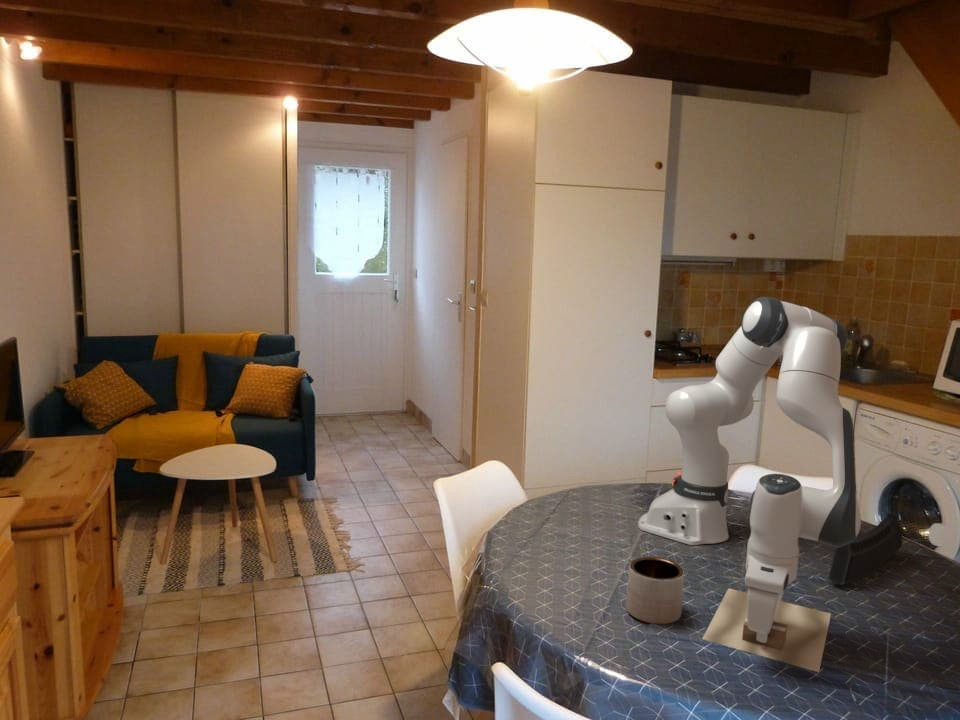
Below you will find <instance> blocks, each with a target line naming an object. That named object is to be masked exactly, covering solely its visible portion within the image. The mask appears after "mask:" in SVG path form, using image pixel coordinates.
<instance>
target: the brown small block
mask: <svg viewBox="0 0 960 720" xmlns="http://www.w3.org/2000/svg"><path fill="white" fill-rule="evenodd" d="M786 631H787V625H786V624H782V623H778V622H774V621H773V624H772V627H771V630H770V633H769V634H768V639H767V642H766V643H763V642H759V641H757V639H756V638H757V632H755V631H752V630H750V629H749V628H748V624H747V618H746V620H745V623H744V626H743V636H742V640H745V641H748V642H752V643H756V644H759V645H763V646H766V647H770V648H774V649H777V650H781V651H782V650H783V647H784V643H785V640H786Z"/></svg>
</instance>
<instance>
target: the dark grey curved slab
mask: <svg viewBox="0 0 960 720" xmlns="http://www.w3.org/2000/svg"><path fill="white" fill-rule="evenodd" d="M902 546H903V531H902V528H901V524H900V522H899V520H898V515H897V514H895V513H891V512H889V513H887V515H886V517H885V518H883V520H882V521H881V522H879V523H878V524H877V525H876V526H874V527H873V528H872V529H870V530H869V531H867V532H865V533H863V534H861V535H859V536H858V535H857V538H856V540H854V541H853V542H851V543H849V544H847V545H845V546H842V547H839V548H835V549H834V554H833V558H832V561H831V566H830V570H829V574H828V578H827V580H828V581H830V582H831V583H833V584H836V585H841V586H843V585H845V584H848V583H851V582H854V581H857V580H860V579H862V578H864V577H867V576H868V575H870V574H872V573H874V572H875V571H876V570H878V569H879V568H881V567H882V566H884V564H886V562H888V561H889V560H890V559H891V558H892V557H893V556H894V555H895V554H896V553H897V552H898V551H899V550H900V549H901V548H902Z"/></svg>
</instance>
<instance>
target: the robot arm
mask: <svg viewBox="0 0 960 720" xmlns="http://www.w3.org/2000/svg"><path fill="white" fill-rule="evenodd" d="M847 343H848V332H847V329H846V327H845V326H844V325H843V324H842V323H841V322H840V321H838V320H836V319H834V318H833V317H830V316H826V315H824V314H822V313H820V312H818V311H816V310H813V309H812V308H809V307H806V306H802V305H801V306H800V305H798V304H794V303H792V302H788V301H782V300H780V299H779V298H776V297H771V296H760V297H758V298H756V299H754V300H753V301H752V302H750V304H749V305H748V306H747V308H746V309H745V311H744V313H743V316H742V320H741V326H740V327H739V328H738V329H737V330H736V332H735V333H734V334H733V336H731V339H730V340H729V341H728V342H727V343H726V345H725V346H724V348H723V349H722V350H721V352H720V353H719V355H718V356H717V357H716V359H715V369H716V371H717V373H716V375H715V377H714V378H713V379H712V380H710V381H709V382H707V383H702V384H694V385H687V386H684V387H682V388H679V389H677V390H675V391H673V392H671V393H670V394H669V395H668V396H667V399H666V402H665V415H666V418H667V419H668V422H669V423H670V424H671V425H672V426H673V427H674V428H675V429H676V431H677V433H678V434H679V438H680V441H681V445H682V448H681V449H682V461H681V462H682V465H681V471H680V472H677V473H676V474H675V476H674V478H673V480H672V483H671V487H672V489H670V490H668V491H666V492H665V493H663V494H661V495H659V496H657V497H656V498H655V499H653V501H652V502H651V504H650V506H649V507H648V508H649V509H648V512H646V513H644V514H643V515H641V517H640V518H639V519H638V523H637V526H638V528H639V530H641V531H644V532H646V533H650V534H653V535H657V536H660V537H664V538H666V539H670V540H673V541H676V542H680V543H683V544H685V545H686V544H687V545H689V546H698V545H704V544H705V545H707V544H718V543H722V542H726V541H727V540H728V539H729V537H730V535H729V530H728V525H727V510H726V505H727V503H728V499H729V498H728V497H729V482H728V470H729V459H730V455H729V454H730V453H729V451H728V450H727V448H726V446H724V445H723V444H721V442H720V440H719V439H720V438H719V433H718V432H719V431H718V430H719V427H723V426H729V425H734V424H737V423H740V422H741V421H742V420H745V419H747V417H749V416H750V415H751V414H752V413H753V409H754V406H755V405H754V401H755V400H754V396H753V394H754V392H755V389H756V387H757V385H758V384H759V382H761V380H762V379H763V378H764V376H765V375H766V374H767V373H768V371H769V370H770V369H771V368H772V367H773V365H774V364H775V363H776V361H777V360H778V359H779V358H780V356H782V361H781V364H780V365H781V366H780V368H779V375H778V377H777V378H778V379H777V385H776V386H777V387H776V400H777V404H778V406H779V408H780V409H781V411H782V412H783V413H784V414H785V416H787V417H788V418H789V419H790V420H792V421H793V422H795V423H796V424H798V425H800V426H802V427H804V428H805V429H807V430H810V431H811V432H812V433H814V434H816V435H819V436H820V437H821V438H822V439H824V440H825V441H826V442H827V443H828V444H829V445H830V448H831V454H832V455H831V456H832V460H831V462H832V487H831V489H822V488H821V489H820V488H814V487H810V486H806V485H805V486H804V485H802V483H801V482H800V481H799V480H798V479H797V478H796V477H793V476H790V475H787V474H782V473H769V474H765V475H762V476H761V477H759V479H758V480H757V483H756V486H755V489H754V490H753V491H752V493H751V496H750V502H749V503H750V504H749V511H748V515H749V516H748V517H749V525H750V536H749V538H748V540H747V548H746V558H745V559H746V560H745V577H744V585H745V586H747V593H748V594H747V624H748V628H749V629H750V630H752V631H755V632H757V638H756V639H757V641H759V642H763V643H766V642H767V639H768V634H769V633H770V630H771V627H772V624H773V621H774V618H775V615H776V613H777V610H778V607H779V604H780V601H782V598H783V595H784V593H785V590H786V589H787V588H788V586H790V584H791V583H792V582H793V581H795V580H796V579H797V576H798V569H799V567H798V566H799V557H800V547H799V538H801V539H806V540H811V541H815V542H817V543H819V544H823V545H826V546H829V547H833V548H835V549H836V548H839V547H842V546H845V545H847V544H849V543H851V542H853V541H854V540H856V538H857V537H858V535H859V534H860V530H861V527H862V526H861V524H862V517H861V516H862V515H861V511H860V505H859V501H858V496H857V495H858V493H857V476H856V475H857V473H856V471H857V469H856V448H855V446H856V445H855V433H854V432H855V431H854V422H853V418H852V415H851V412H850V411H849V410H848V409H846V407H843V405H842V403H841V401H840V398H839V383H840V377H841V369H842V368H841V364H842V363H841V361H842V360H841V359H842V354H843V353H844V351H845V349H846V347H847Z"/></svg>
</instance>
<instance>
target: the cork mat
mask: <svg viewBox="0 0 960 720" xmlns="http://www.w3.org/2000/svg"><path fill="white" fill-rule="evenodd" d="M747 594H748V592H745V591H743V590H742V591H741V590H736V589H734V588H728V589H727V590H726V592H725V594H724V596H723V598H722V600H721V602H720V603H719V606H718V608H717V609H716V611H715V613H714V615H713V616H712V619H711V620H710V623H709V625H708V627H707V629H706V631H705V632H704V634H703V636H702V638H701V639H702V640H704V641H708V642H710V643H715V644H718V645H721V646H725V647H728V648H731V649H736V650H739V651H742V652H746V653H750V654H753V655H757V656H760V657H764V658H767V659H771V660H774V661H777V662H781V663H784V664H788V665H792V666H796V667H798V668H799V667H800V668H801V669H802V668H803V669H806V670H809V671H813V672H816V673H820V668H821V664H822V659H823V656H824V655H823V654H824V650H825V645H826V640H827V634H828V630H829V625H830V620H831V615H832V613H830V612H827V611H822V610H818V609H813V608H811V607H806V606H802V605H799V604H794V603H790V602H785V601H782V600H781V601H780V604H779V607H778V610H777V613H776V615H775V618H774V622H778V623H782V624H786V625H787V631H786V640H785V643H784V647H783V650H782V651H781V650H777V649H774V648H770V647H766V646H763V645H759V644H756V643H752V642H748V641H745V640H742V636H743V626H744V623H745V620H746V618H747Z"/></svg>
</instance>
